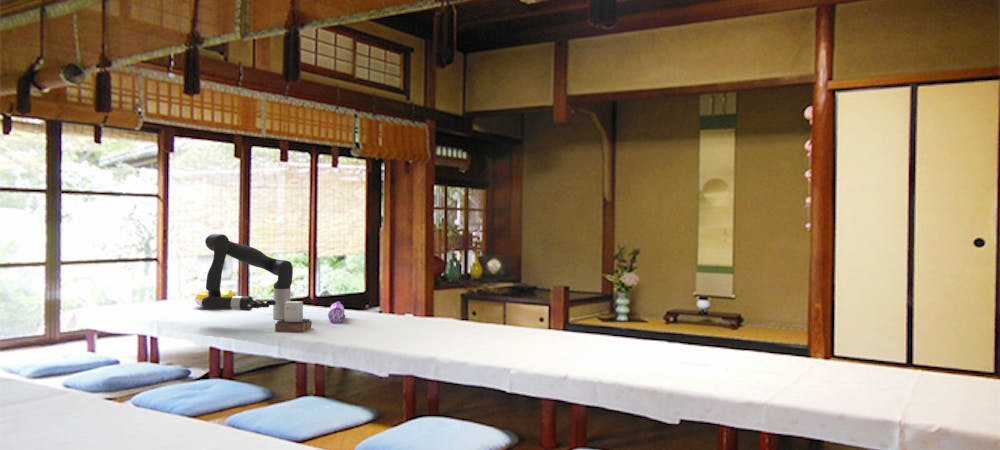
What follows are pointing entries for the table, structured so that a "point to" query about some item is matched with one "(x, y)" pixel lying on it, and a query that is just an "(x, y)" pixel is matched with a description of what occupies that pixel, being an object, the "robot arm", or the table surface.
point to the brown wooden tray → (292, 326)
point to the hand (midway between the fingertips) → (272, 304)
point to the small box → (293, 311)
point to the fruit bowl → (203, 294)
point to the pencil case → (336, 313)
